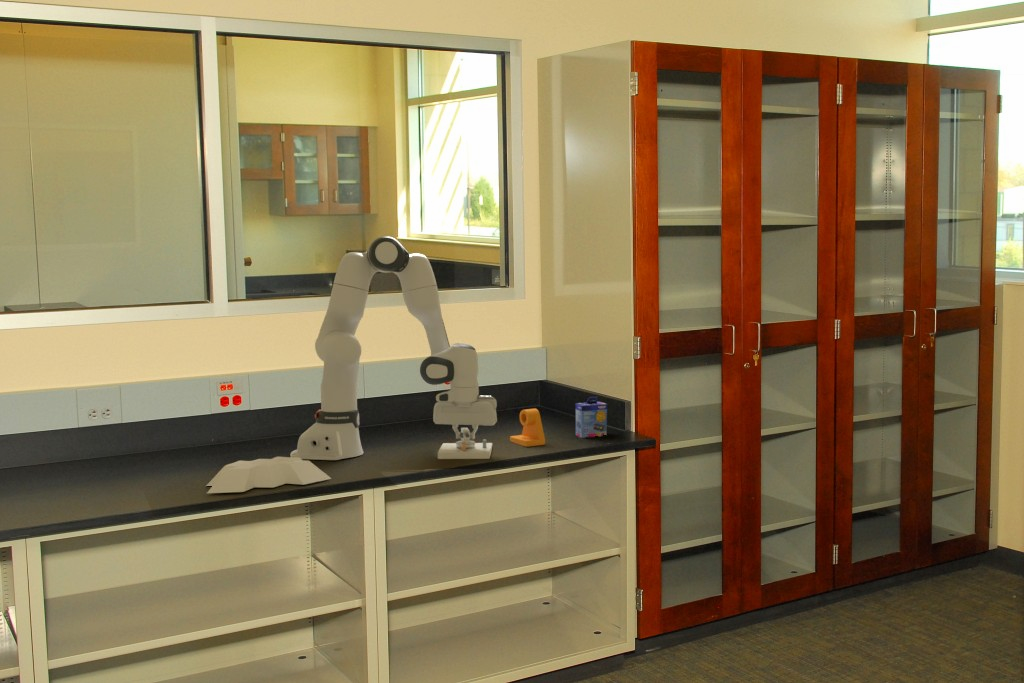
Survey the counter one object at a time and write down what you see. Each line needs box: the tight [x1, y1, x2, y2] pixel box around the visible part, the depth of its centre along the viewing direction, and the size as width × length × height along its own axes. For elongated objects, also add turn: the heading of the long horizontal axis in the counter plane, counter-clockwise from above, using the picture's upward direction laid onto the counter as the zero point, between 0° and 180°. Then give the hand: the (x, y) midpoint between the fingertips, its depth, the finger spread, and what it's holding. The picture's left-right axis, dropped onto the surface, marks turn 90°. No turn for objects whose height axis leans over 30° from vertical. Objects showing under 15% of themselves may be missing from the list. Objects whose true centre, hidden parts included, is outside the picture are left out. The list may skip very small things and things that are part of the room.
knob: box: [455, 427, 476, 448], centre depth 322 cm, size 10×6×6 cm, turn 9°
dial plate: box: [437, 438, 493, 460], centre depth 324 cm, size 16×16×4 cm
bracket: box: [509, 408, 546, 447], centre depth 337 cm, size 11×7×12 cm, turn 32°
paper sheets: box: [205, 456, 332, 494], centre depth 291 cm, size 35×20×6 cm, turn 118°
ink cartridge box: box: [575, 396, 608, 439], centre depth 347 cm, size 10×6×14 cm, turn 113°
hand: (465, 438), depth 324 cm, fingers closed on knob, 3 cm apart
